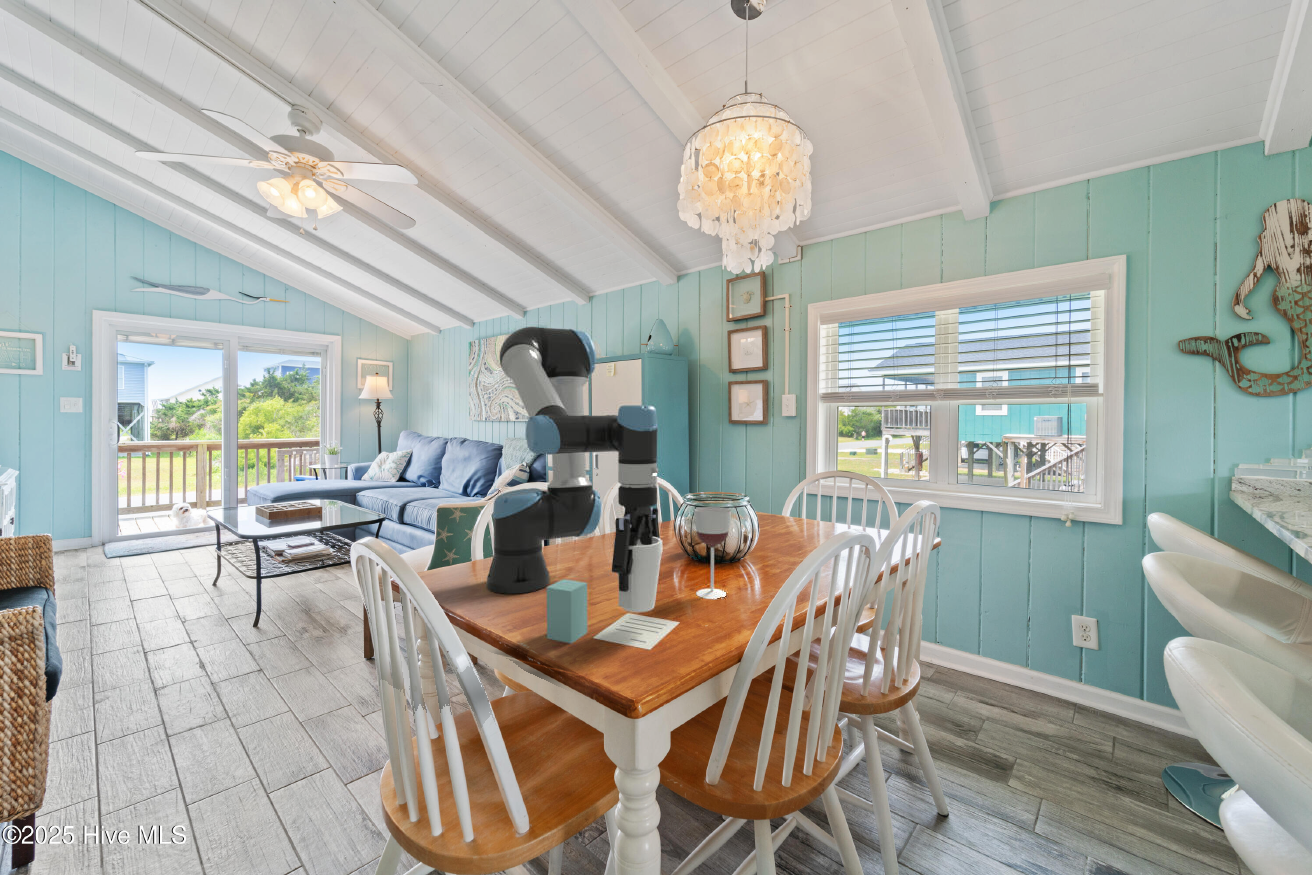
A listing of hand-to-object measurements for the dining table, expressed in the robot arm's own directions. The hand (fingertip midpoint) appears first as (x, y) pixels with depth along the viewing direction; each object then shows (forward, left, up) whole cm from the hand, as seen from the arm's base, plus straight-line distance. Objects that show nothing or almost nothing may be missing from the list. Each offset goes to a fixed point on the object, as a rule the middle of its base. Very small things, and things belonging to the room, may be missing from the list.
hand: (638, 598), depth 106 cm
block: (-11, -8, -7) cm, 15 cm away
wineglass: (+6, +27, -7) cm, 28 cm away
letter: (0, 0, -6) cm, 6 cm away
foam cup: (0, 0, -2) cm, 2 cm away
